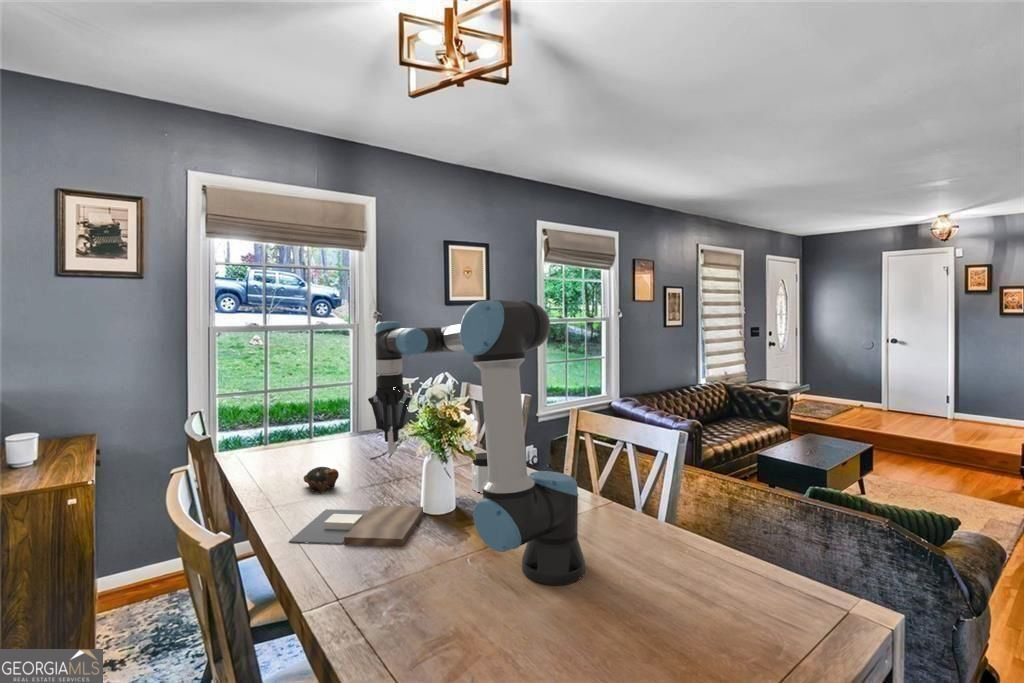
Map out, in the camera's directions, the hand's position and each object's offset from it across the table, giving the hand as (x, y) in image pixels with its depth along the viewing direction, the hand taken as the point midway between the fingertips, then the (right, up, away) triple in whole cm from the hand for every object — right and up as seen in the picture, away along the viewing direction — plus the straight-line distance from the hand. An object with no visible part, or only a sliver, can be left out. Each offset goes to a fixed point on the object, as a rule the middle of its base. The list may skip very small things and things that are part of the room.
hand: (392, 452), depth 148 cm
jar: (+26, -19, +27) cm, 42 cm away
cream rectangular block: (-13, -21, -3) cm, 25 cm away
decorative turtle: (-32, -20, +28) cm, 47 cm away
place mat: (-16, -21, -3) cm, 27 cm away
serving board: (-1, -21, -4) cm, 21 cm away
